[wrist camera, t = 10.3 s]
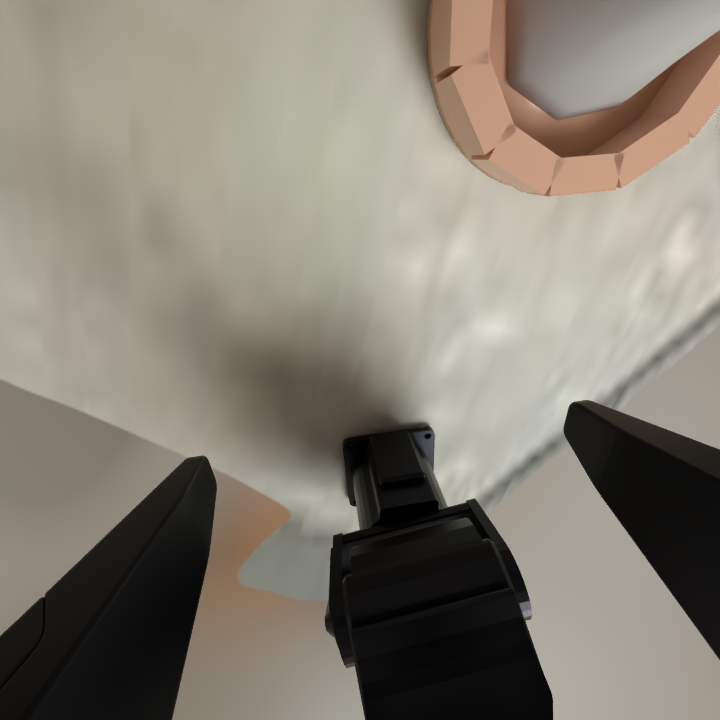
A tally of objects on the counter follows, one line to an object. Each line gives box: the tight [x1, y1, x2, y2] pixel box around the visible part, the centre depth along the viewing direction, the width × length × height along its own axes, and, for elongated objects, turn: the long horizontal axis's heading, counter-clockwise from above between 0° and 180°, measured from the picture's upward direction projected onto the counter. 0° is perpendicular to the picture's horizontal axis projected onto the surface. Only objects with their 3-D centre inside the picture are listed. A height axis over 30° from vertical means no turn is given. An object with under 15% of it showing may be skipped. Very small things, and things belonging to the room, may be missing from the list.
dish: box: [427, 0, 720, 196], centre depth 15 cm, size 13×13×3 cm
